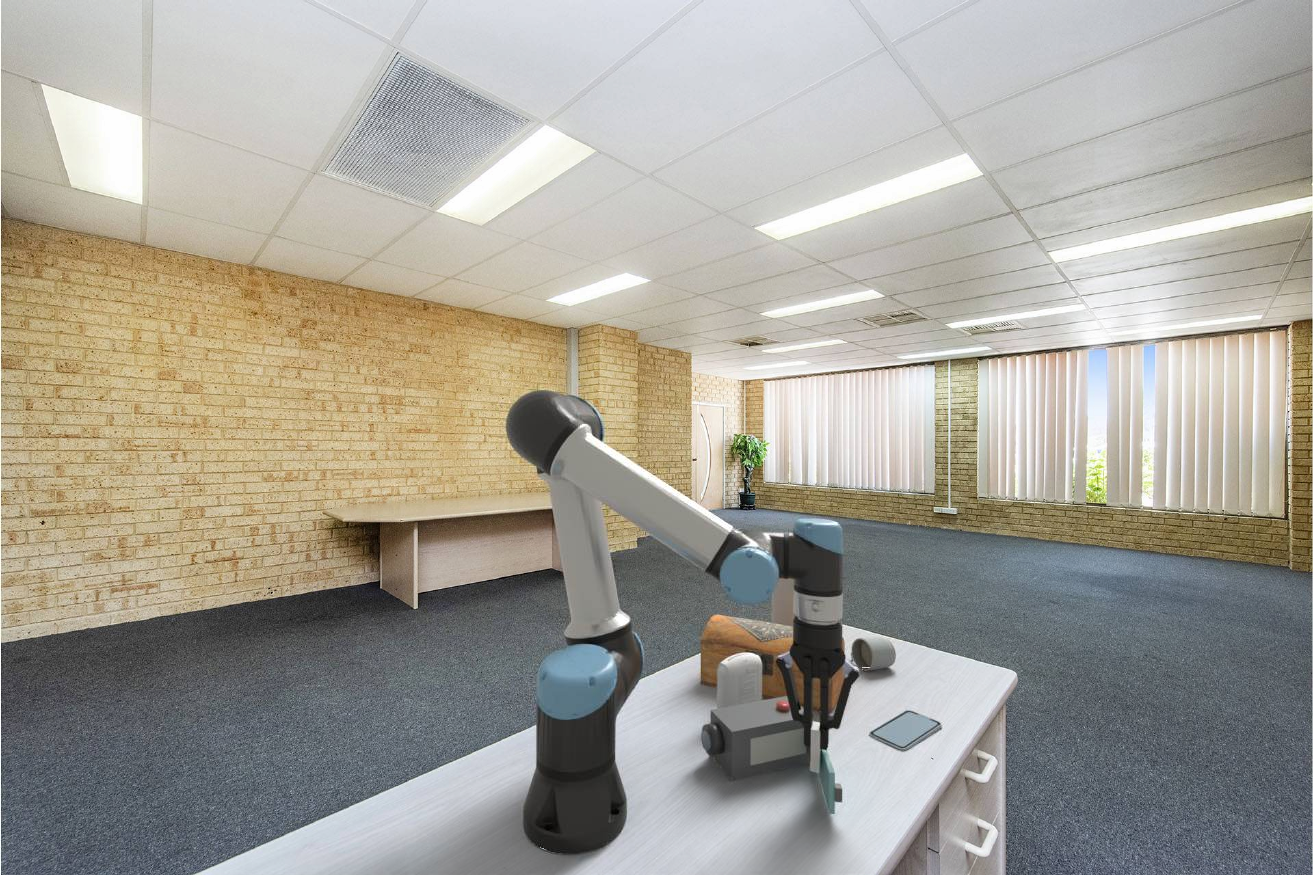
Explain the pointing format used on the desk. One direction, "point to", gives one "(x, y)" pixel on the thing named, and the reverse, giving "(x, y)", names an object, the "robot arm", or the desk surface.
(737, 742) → the camera body
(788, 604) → the cylinder vase
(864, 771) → the desk surface
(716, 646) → the wooden box
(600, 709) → the robot arm
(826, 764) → the side door
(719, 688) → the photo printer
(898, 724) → the smartphone
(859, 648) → the ceramic mug
